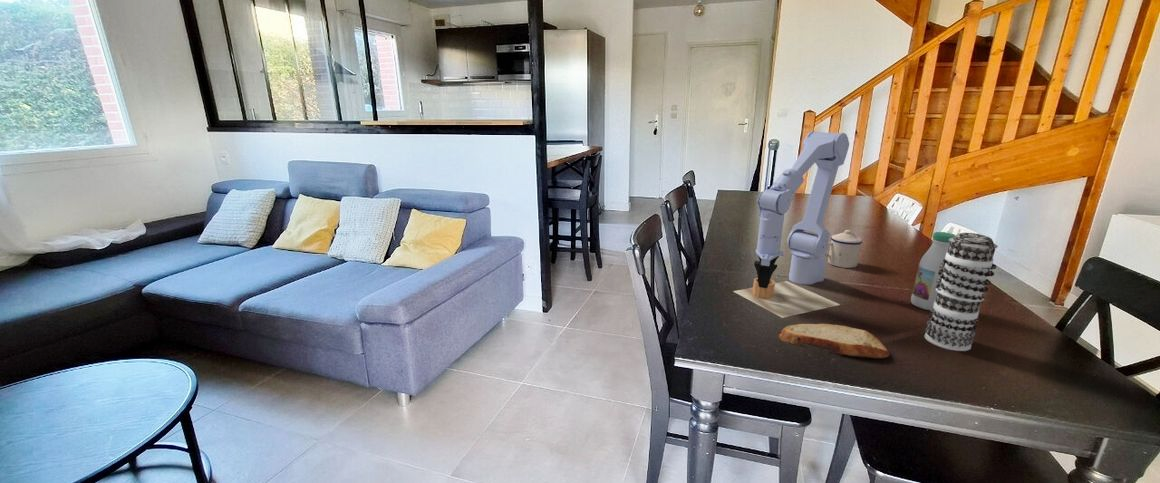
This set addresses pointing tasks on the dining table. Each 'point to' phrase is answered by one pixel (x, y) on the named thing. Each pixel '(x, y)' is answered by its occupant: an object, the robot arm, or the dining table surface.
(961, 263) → the decorative candle
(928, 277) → the milk bottle
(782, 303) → the board
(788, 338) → the slice of bread
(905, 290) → the dining table surface
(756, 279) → the sleeve
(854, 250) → the teacup with lid
